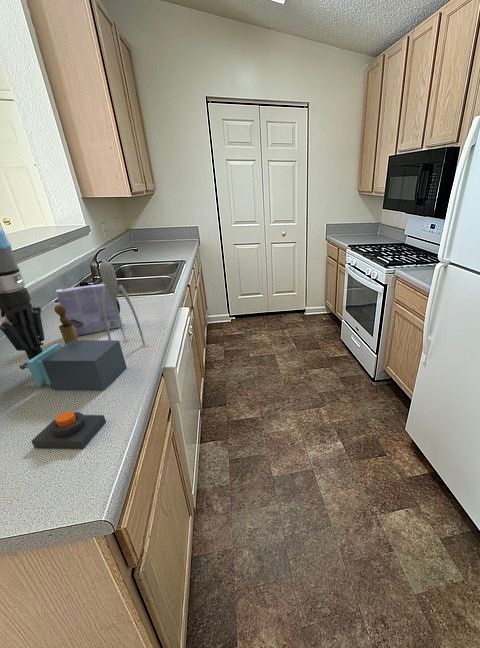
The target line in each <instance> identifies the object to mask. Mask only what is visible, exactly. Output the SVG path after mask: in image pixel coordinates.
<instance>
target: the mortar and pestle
mask: <svg viewBox="0 0 480 648" xmlns="http://www.w3.org/2000/svg"><path fill="white" fill-rule="evenodd" d="M53 310H54V311H53V312H54V313H56V314H57V315H58V316H59V322H60V323H61V324H60V325H59V326H58V328H59V331H60V334H61V336H62V340H63V342H64V345H66V344H67V343H69V342H70V341H72V340H79V336H77V334H76V331H75V328H74V325H73V323H68V317H66V316H65V312H66V308H65V306H63V305H60V304H56V305H55V306H54V308H53Z"/></svg>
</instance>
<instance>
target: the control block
mask: <svg viewBox="0 0 480 648" xmlns="http://www.w3.org/2000/svg"><path fill="white" fill-rule="evenodd" d="M72 412H73V413H74V414H75V417H76V422H75V423H73V424H71V425H69V426H66V427H58V425H57V423H56V421H55V419H56V417H55V418H54V419H53V420H52V421H51V422H50V423H49V424H48V425H47V426H46V427H44V428H43V429H42V431H40V432H39V433H38V434H37V435H36V436H35V437H34V438H32V439H31V441H30V442H31V444H32V446H33V448H34V449H51V450H84V449H85V448H86V447H87V446H88V445H89V443H90V442H91V441H92V440H93V439H94V438H95V436H97V434H98V433H99V432H100V430H101V429H102V428H103V427H104V426H105V425H106V423H107V419H106V417H105V415H104V414H83V413H81V412H79V411H78V412H77V411H72Z"/></svg>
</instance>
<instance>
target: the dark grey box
mask: <svg viewBox="0 0 480 648" xmlns="http://www.w3.org/2000/svg"><path fill="white" fill-rule="evenodd" d="M42 363H43V365H44V368H45V370H46V373H47V375H48V377H49V380H50V382H51V384H50V385H51V387H52V390H53V391H83V392H84V391H86V392H87V391H89V392H90V391H95V392H98V391H100V392H101V391H102V392H104V391H106V390H107V388H109V387H110V386H111V385H112V384H113V383H114V381H116V379H118V378H119V376H120V375H122V374H123V373H124V371H126V369H128V367H127V363H126V360H125V356H124V353H123V350H122V346H121V342H120V340H119V339H118V340H116V339H115V340H112V339H111V340H109V339H107V340H104V339H103V340H95V339H93V340H92V339H91V340H90V339H84V340H83V339H78V340H72V341H70V342H69V343H67V344H66V345H65V344H64V346H63V347H60V349H58V350H57V351H55V352H54V353H52V354H51V355H49V356H48V357H46V358H45V359H43V360H42Z"/></svg>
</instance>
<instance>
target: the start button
mask: <svg viewBox="0 0 480 648" xmlns="http://www.w3.org/2000/svg"><path fill="white" fill-rule="evenodd" d="M73 412H74V411H65V412H62V413H60V414H58V415H57V416H56V417H55V418H56V419H55V418H54V419H55V421H56V423H57V425H58V427H66V426H69V425H71V424H73V423H75V422H76V417H75V414H74V413H73Z"/></svg>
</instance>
